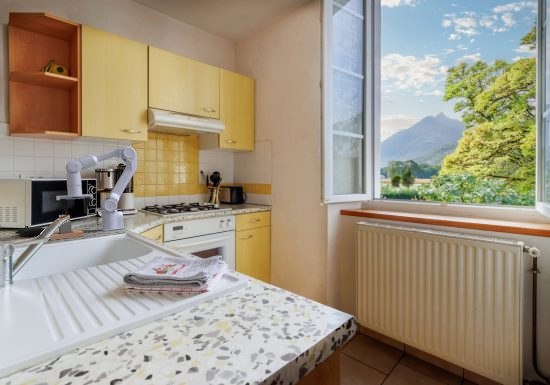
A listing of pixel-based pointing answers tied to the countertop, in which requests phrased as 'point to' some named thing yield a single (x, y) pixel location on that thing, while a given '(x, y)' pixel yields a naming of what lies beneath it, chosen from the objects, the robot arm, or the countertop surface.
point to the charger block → (65, 228)
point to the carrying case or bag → (30, 231)
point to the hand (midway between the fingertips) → (76, 213)
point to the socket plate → (68, 234)
